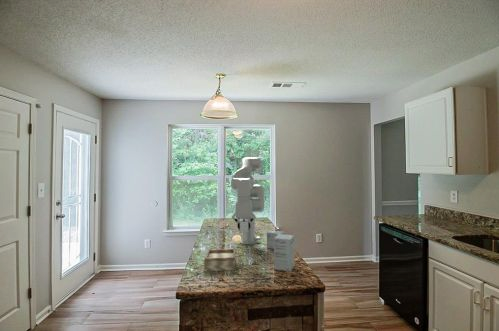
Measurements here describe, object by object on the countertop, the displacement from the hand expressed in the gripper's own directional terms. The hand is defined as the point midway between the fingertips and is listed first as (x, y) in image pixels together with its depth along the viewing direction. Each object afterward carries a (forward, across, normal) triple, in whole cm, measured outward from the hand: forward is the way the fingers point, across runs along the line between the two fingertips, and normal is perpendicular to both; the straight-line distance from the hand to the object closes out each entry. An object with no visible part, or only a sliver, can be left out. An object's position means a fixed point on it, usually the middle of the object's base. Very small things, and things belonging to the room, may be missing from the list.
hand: (243, 229), depth 165 cm
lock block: (+1, 0, 0) cm, 1 cm away
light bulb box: (+18, -22, -20) cm, 35 cm away
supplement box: (+18, -21, +17) cm, 33 cm away
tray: (+18, +14, +10) cm, 24 cm away
